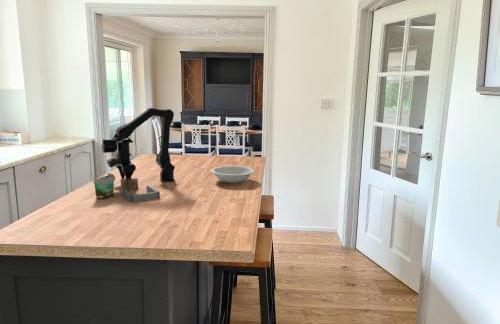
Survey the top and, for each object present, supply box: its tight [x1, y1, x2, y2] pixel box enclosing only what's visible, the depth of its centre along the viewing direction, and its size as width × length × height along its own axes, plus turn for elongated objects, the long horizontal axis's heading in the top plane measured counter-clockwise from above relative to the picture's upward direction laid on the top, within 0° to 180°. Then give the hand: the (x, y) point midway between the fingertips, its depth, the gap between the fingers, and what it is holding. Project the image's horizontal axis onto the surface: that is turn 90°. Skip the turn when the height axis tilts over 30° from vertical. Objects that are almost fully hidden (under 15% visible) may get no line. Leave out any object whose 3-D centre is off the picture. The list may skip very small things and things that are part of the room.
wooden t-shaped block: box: [119, 177, 139, 193], centre depth 184 cm, size 8×8×5 cm
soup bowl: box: [211, 165, 255, 184], centre depth 205 cm, size 24×24×7 cm
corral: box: [121, 185, 161, 203], centre depth 173 cm, size 13×14×3 cm
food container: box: [93, 172, 116, 200], centre depth 171 cm, size 12×6×10 cm, turn 168°
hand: (125, 180), depth 192 cm, fingers open, 9 cm apart
